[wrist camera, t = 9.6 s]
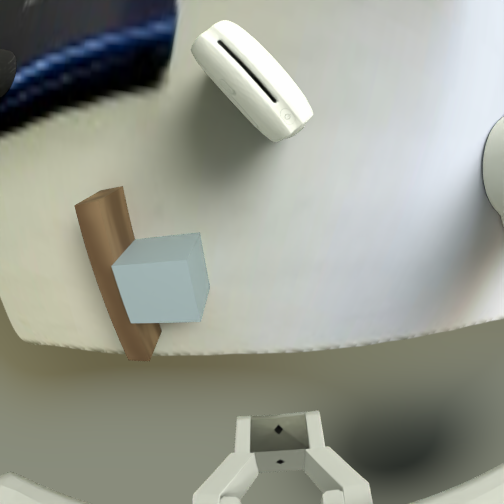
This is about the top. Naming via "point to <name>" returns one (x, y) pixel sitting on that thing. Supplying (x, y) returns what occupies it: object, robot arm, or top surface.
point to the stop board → (104, 256)
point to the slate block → (163, 279)
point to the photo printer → (252, 80)
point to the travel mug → (6, 70)
